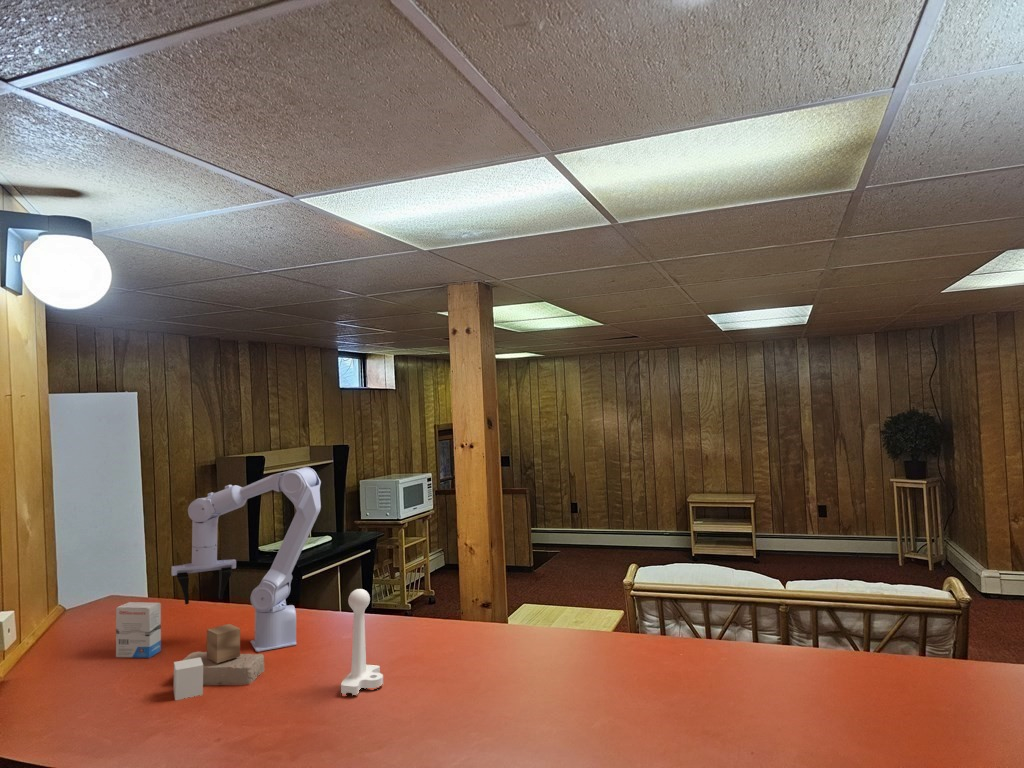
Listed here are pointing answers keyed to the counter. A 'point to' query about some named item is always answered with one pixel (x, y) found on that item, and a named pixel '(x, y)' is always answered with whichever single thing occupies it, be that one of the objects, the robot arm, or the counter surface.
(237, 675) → the brick
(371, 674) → the joystick
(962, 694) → the counter surface
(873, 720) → the counter surface
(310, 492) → the robot arm
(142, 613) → the ink box
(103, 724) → the counter surface
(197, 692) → the grey block
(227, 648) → the walnut block
